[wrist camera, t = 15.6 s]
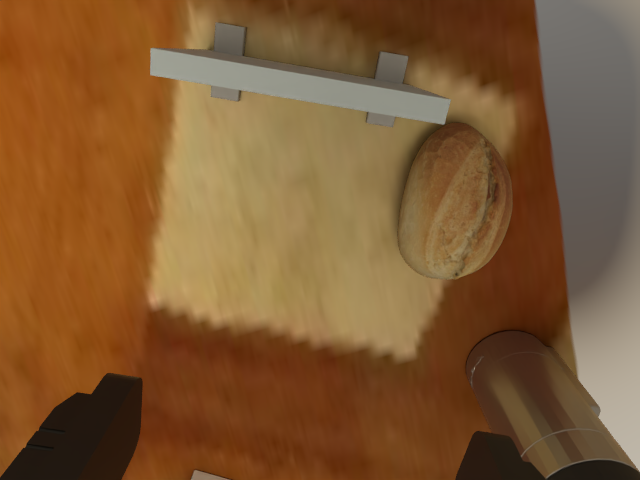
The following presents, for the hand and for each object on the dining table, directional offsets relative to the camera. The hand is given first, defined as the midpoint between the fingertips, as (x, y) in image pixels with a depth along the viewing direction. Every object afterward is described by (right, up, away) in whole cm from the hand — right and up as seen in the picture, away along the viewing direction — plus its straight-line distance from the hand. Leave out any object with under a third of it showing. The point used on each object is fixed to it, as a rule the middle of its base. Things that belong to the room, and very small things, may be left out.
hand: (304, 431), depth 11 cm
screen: (-1, +19, +29) cm, 35 cm away
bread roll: (+12, +9, +34) cm, 37 cm away
